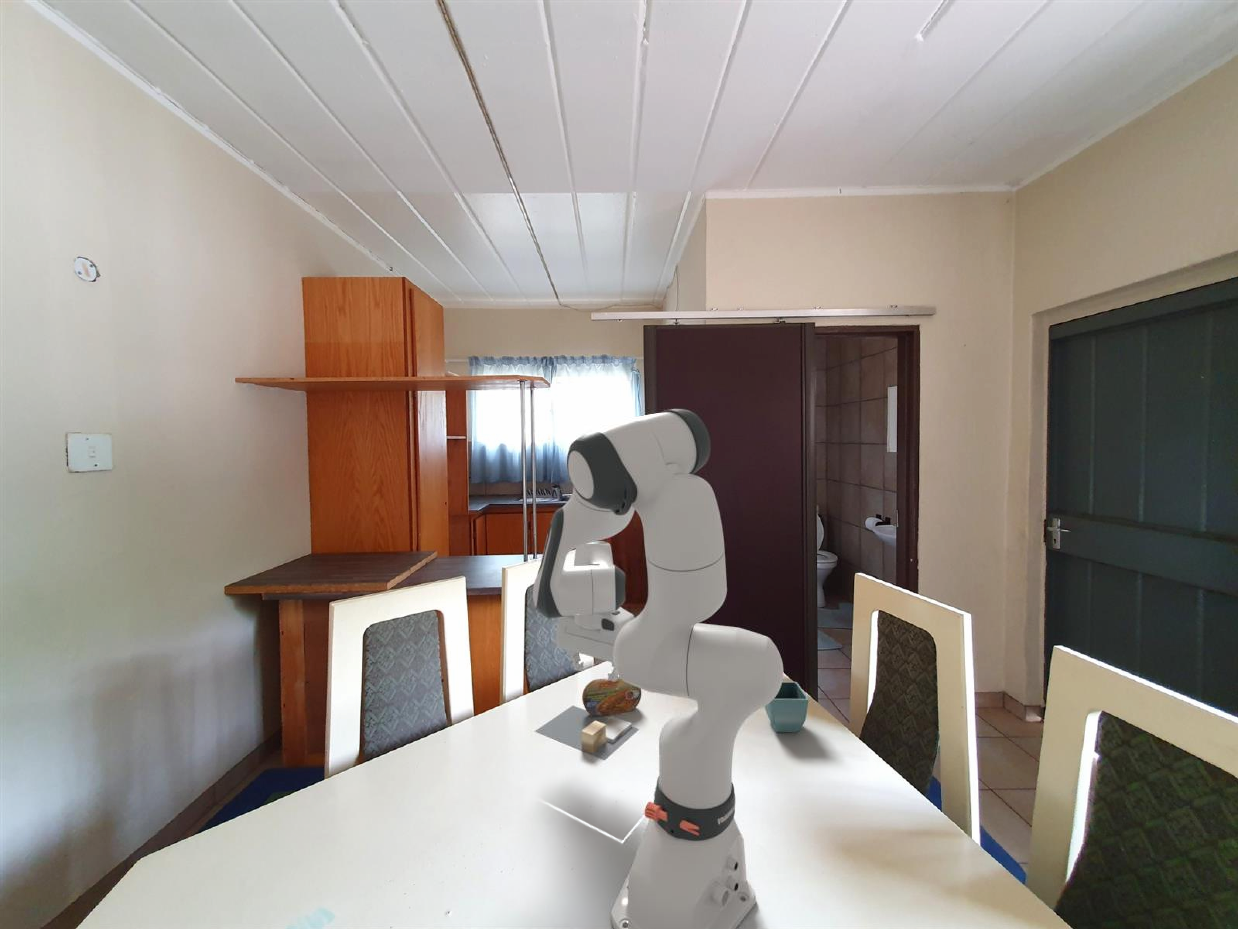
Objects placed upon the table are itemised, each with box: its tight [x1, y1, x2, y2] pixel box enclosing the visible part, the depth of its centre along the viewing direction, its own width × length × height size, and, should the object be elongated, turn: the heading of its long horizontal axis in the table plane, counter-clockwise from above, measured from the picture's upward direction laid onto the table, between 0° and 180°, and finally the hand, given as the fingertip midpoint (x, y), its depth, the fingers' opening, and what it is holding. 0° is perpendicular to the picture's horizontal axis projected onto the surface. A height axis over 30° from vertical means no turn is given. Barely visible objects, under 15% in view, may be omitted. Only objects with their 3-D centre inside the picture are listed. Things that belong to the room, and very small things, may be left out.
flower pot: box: [763, 681, 810, 733], centre depth 118 cm, size 9×9×9 cm
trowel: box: [582, 715, 633, 753], centre depth 114 cm, size 14×6×4 cm, turn 146°
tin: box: [581, 675, 642, 717], centre depth 125 cm, size 15×3×8 cm, turn 108°
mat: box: [534, 705, 640, 761], centre depth 117 cm, size 14×20×1 cm
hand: (595, 674), depth 110 cm, fingers open, 8 cm apart
